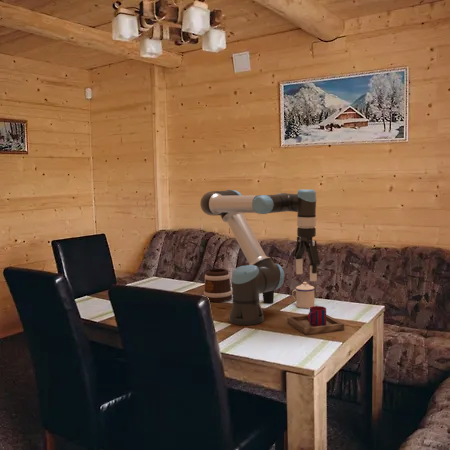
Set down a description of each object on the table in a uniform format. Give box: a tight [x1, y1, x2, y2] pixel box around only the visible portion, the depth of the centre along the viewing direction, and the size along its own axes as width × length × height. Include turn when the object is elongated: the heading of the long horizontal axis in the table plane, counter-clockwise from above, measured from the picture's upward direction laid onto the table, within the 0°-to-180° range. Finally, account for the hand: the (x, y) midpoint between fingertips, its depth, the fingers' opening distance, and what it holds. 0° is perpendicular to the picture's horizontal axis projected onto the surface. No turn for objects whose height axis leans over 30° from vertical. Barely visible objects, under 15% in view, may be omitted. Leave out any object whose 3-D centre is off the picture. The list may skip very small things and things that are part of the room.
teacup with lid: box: [291, 281, 316, 309], centre depth 239 cm, size 12×9×12 cm
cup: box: [307, 305, 327, 326], centre depth 205 cm, size 7×10×7 cm
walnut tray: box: [286, 314, 345, 336], centre depth 207 cm, size 17×18×2 cm
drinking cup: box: [262, 290, 275, 305], centre depth 247 cm, size 8×8×20 cm
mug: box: [203, 268, 233, 303], centre depth 259 cm, size 20×15×15 cm
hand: (306, 277), depth 208 cm, fingers open, 13 cm apart
